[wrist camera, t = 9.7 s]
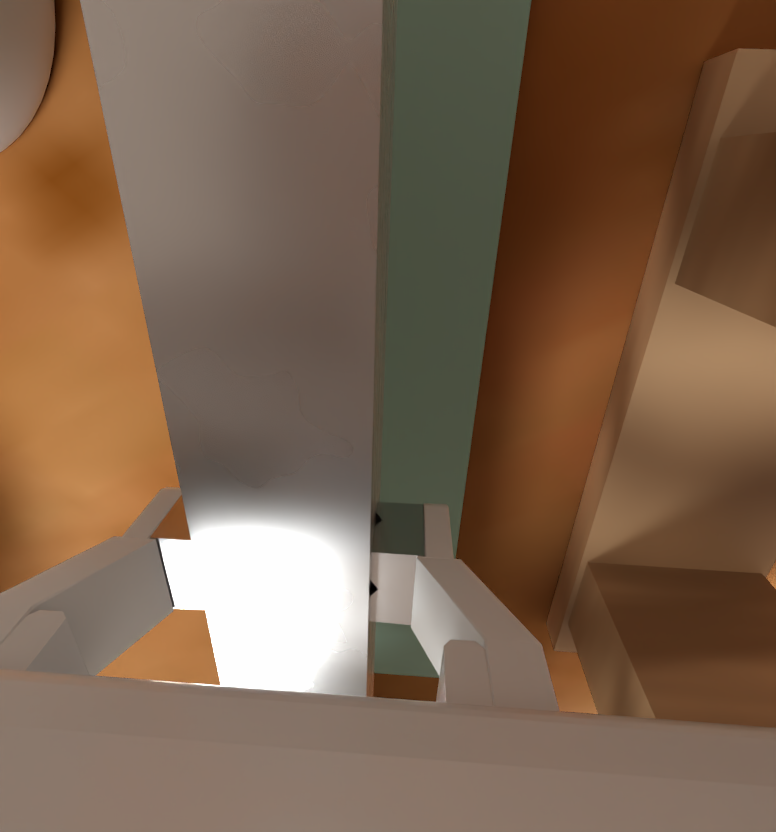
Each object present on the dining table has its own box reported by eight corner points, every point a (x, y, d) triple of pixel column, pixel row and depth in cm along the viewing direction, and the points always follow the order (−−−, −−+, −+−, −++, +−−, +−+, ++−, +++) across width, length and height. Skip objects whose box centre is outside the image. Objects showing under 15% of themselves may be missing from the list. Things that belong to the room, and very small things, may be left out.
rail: (171, -197, 6) (-21, -489, 3) (404, -193, 6) (393, -494, 3) (284, 752, 16) (258, 867, 13) (371, 759, 16) (362, 876, 13)
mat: (133, -148, 9) (115, -167, 9) (544, -140, 9) (553, -160, 8) (254, 650, 20) (249, 663, 20) (438, 664, 20) (439, 677, 19)
